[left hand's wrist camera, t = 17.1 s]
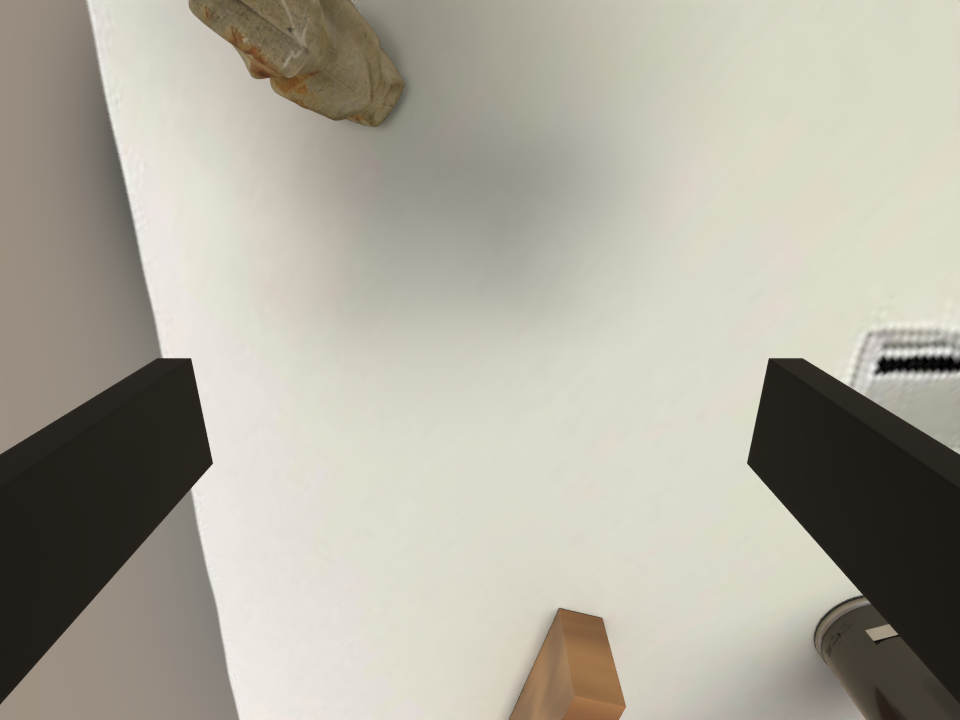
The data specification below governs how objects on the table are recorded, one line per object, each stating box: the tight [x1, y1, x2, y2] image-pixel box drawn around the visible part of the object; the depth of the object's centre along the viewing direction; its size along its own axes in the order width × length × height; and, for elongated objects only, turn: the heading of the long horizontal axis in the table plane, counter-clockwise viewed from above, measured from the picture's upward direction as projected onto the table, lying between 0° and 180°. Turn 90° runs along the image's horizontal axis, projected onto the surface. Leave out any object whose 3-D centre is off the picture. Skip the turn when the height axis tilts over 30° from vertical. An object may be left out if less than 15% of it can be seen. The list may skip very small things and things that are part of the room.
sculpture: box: [189, 0, 404, 127], centre depth 28 cm, size 6×7×15 cm
